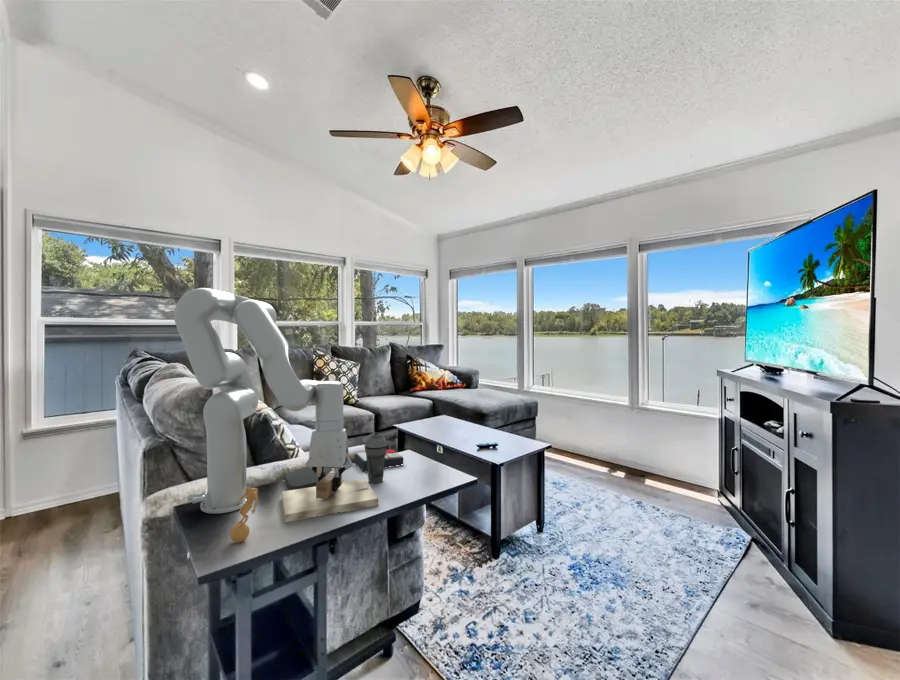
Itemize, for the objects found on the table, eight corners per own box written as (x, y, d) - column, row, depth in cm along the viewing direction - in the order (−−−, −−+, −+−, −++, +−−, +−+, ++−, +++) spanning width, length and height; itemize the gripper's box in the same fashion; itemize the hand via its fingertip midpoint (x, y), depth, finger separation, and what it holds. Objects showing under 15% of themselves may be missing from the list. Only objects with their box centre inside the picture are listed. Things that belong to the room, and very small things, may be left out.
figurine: (223, 538, 93) (223, 487, 93) (250, 528, 97) (250, 480, 97) (237, 551, 87) (237, 497, 87) (265, 540, 92) (265, 489, 92)
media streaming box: (283, 479, 131) (283, 470, 131) (328, 472, 138) (328, 463, 138) (290, 495, 118) (290, 485, 118) (339, 486, 125) (340, 476, 125)
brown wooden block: (326, 502, 108) (326, 483, 108) (316, 501, 108) (316, 482, 108) (341, 487, 118) (341, 470, 118) (332, 487, 118) (332, 470, 118)
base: (285, 522, 101) (285, 514, 101) (281, 496, 117) (281, 488, 117) (378, 505, 111) (378, 497, 111) (363, 483, 127) (363, 476, 127)
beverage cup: (384, 485, 125) (385, 422, 125) (361, 485, 125) (362, 422, 125) (388, 477, 132) (389, 417, 132) (367, 476, 133) (367, 417, 132)
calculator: (404, 455, 145) (363, 459, 138) (403, 467, 145) (363, 472, 138) (393, 447, 155) (354, 451, 147) (392, 459, 155) (354, 463, 147)
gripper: (295, 427, 110) (295, 493, 110) (353, 429, 108) (353, 496, 109) (307, 421, 117) (307, 483, 117) (362, 422, 116) (361, 485, 116)
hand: (329, 488), depth 113 cm, fingers closed on brown wooden block, 3 cm apart
